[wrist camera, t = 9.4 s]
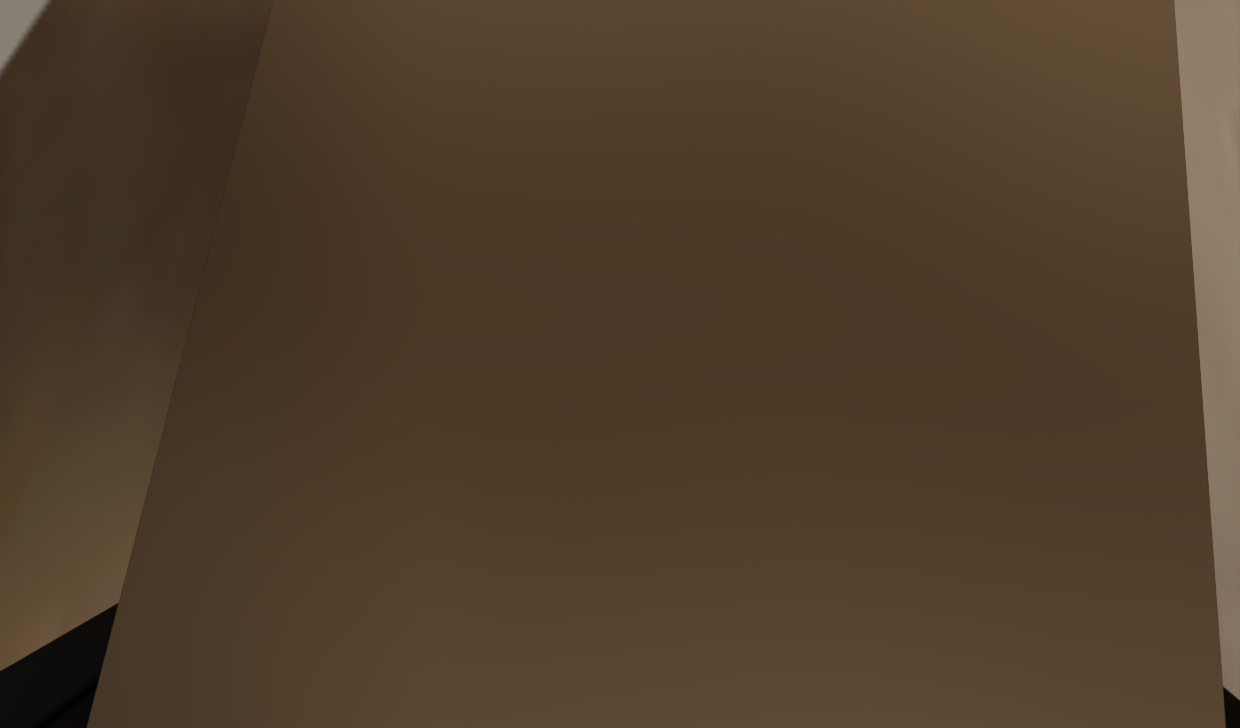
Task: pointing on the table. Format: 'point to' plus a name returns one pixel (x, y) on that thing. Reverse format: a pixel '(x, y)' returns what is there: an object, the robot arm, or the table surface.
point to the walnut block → (688, 378)
